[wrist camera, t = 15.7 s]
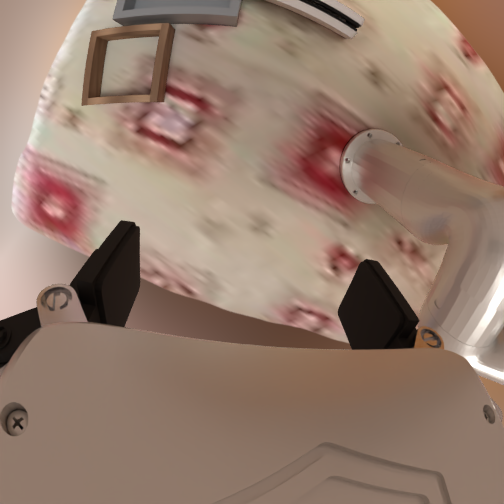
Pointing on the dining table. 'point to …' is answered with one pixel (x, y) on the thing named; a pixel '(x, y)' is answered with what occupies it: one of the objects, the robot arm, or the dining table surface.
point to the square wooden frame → (98, 56)
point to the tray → (177, 12)
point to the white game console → (326, 14)
